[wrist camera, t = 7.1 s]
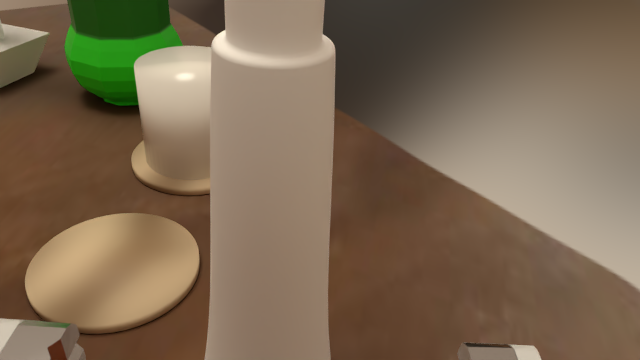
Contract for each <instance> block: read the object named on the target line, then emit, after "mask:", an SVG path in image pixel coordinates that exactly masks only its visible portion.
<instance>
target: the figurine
mask: <svg viewBox="0 0 640 360" xmlns="http://www.w3.org/2000/svg"><path fill="white" fill-rule="evenodd" d="M48 36H49V33H47V32H42V31H37V30H32V29H27V28H22V27H16V26H11V25H6V24H1V21H0V88H1V87H3V86H6V85H8V84H10V83H12V82H14V81H16V80H19V79H21V78H23V77H25V76H27V75H29V74H32V73H34V72H35V69H36V67H37V64H38V61H39V59H40V56H41V54H42V51H43V49H44V46H45V43H46V41H47V38H48Z"/></svg>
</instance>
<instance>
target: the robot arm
mask: <svg viewBox="0 0 640 360" xmlns="http://www.w3.org/2000/svg"><path fill="white" fill-rule="evenodd" d="M79 335H80V334H79V331H78V328H77V325H76V324H71V323H58V322H45V321H32V320H16V319H0V360H86V357H85V353H84V349H83V348H81V347H80V346H79V345H78V344H77V343H76V342H77V340H78V338H79ZM458 358H459V360H541V357H540V355H539V353H538V350H537V349H536V348H535V347H534V346H526V345H508V344H490V343H462V344H461V345H460V348H459V351H458Z"/></svg>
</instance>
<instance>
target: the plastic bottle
mask: <svg viewBox="0 0 640 360" xmlns="http://www.w3.org/2000/svg"><path fill="white" fill-rule="evenodd" d="M67 1H68V6H69V11H70V17H71V22H72V23H71V25H70V28H69V30H68V33H67V37H66V41H65V46H64V48H65V53H66V58H67V61H68V64H69V66H70V68H71V70H72V73H73V74H74V76H75V77H76V79H77V80H78V82H79V83H80V85H81V86H83V87H84V88H85V89H86V90H88V91H89V92H91V93H93V94H95V95H97V96H98V97H101V98H103V99H104V101H105V102H109V103H112V104H115V105H119V106H123V105H139V102H138V95H137V87H136V80H135V72H134V63H135V61H136V60H137V59H138V58H139V57H141V56H142V55H144V54H146V53H149V52H151V51H154V50H158V49H163V48H168V47H177V46H183V45H182V42H181V40H180V38H179V36H178V34H177V32H176V31H175V29H174V28H173V26H172V25H171V23H170V15H169V4H168V0H67Z"/></svg>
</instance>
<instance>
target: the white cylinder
mask: <svg viewBox="0 0 640 360" xmlns="http://www.w3.org/2000/svg"><path fill="white" fill-rule="evenodd" d="M211 49H212V48H211V47H202V46H177V47H168V48H163V49H158V50H154V51H151V52H149V53H146V54H144V55H142V56H141V57H139V58H138V59H137V60H136V61H135V63H134V72H135V80H136V87H137V95H138V102H139V110H140V117H141V125H142V132H143V140H144V147H145V155H146V161H147V164H148V165H149V167H150V168H151V169H152V170H154V171H155V172H157V173H159V174H161V175H163V176H166V177H170V178H174V179H182V180H199V179H207V178H210V99H211Z"/></svg>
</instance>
